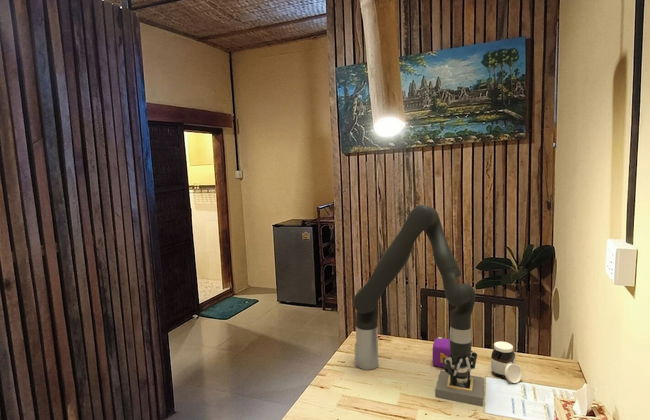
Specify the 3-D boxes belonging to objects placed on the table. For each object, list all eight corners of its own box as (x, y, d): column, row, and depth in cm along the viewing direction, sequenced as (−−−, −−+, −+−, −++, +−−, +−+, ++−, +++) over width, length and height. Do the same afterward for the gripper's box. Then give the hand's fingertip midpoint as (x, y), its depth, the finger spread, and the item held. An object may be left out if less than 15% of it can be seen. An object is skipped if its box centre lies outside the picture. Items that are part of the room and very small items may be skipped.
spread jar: (498, 365, 164) (498, 338, 162) (527, 374, 156) (528, 346, 154) (485, 376, 156) (486, 348, 154) (515, 387, 147) (516, 358, 146)
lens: (451, 388, 145) (451, 367, 144) (453, 380, 150) (453, 360, 149) (467, 391, 143) (467, 369, 142) (468, 383, 148) (468, 362, 147)
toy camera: (468, 371, 160) (468, 348, 158) (433, 369, 162) (433, 346, 161) (464, 358, 170) (464, 336, 169) (431, 356, 173) (431, 334, 172)
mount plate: (435, 397, 143) (435, 387, 143) (440, 377, 156) (440, 369, 156) (482, 406, 137) (482, 396, 137) (484, 385, 150) (484, 376, 149)
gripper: (451, 346, 138) (451, 391, 140) (483, 338, 143) (482, 382, 145) (437, 337, 145) (437, 381, 147) (468, 330, 150) (468, 372, 152)
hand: (460, 381), depth 146 cm, fingers closed on lens, 5 cm apart
